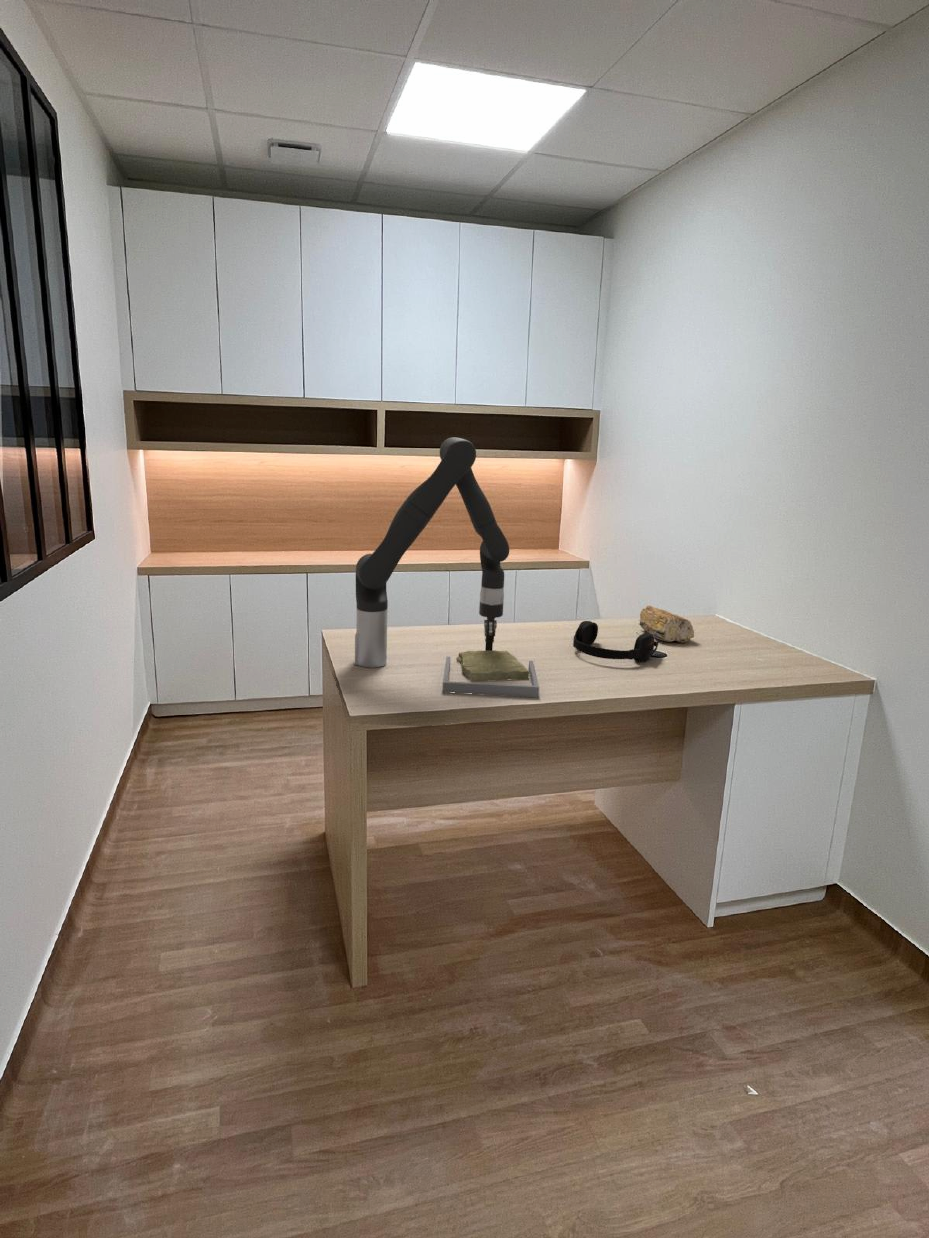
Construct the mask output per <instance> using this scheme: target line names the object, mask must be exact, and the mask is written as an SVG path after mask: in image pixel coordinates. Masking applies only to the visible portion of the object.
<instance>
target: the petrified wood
mask: <svg viewBox="0 0 929 1238" xmlns="http://www.w3.org/2000/svg"><path fill="white" fill-rule="evenodd" d="M639 616H640V618H639V626H640V628H641V629H642V630H643V631H646V633H648V634H649V633H650V634H653V637H654V639H657V640H660V641H663V642H666V643H667V642H673V641H675V642H678V643H681V644H684V643H685V642H686V643H687V642H689V641H690V640H691V639H693V638H694V637H695V630H694V627H693V625H692V622H691V620H689V619H687V618H684V617H682V616H679V615H678V614H673V613H672V612H670V611H667V610H664V609H661V608H658V607H654V606H651V605H647V606H646V607H645V608H642V609H641V611H640V613H639Z"/></svg>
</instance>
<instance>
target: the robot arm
mask: <svg viewBox="0 0 929 1238" xmlns="http://www.w3.org/2000/svg"><path fill="white" fill-rule="evenodd" d="M439 457H440V462H439V464H438V465H437V467H436V469H435V470H434V471H433V472H432V473H431V474H430V476H429V477H427V479H426V480H425V481H423V482H422V483H421V484H420V485H418V486H417V487H415V489H414V490H413V491H412V492H411V493H410V494H409V495H408V496H407V497H406V499H405V500H404V501H403V503H402V504H401V506H400V507H399V509H398V510H397V511H396V513H395V515H394V516H393V519H392V521H391V523H390V526H389V528H388V530H387V532H386V534H385V536H384V538H383V539H382V541H381V542H380V544H379V545H378V546H377V548H376V549H375V550H374V551H373V552H372V553H366V554H364V555H362V556H361V557H360V558H359V559H358V561H357V562H356V565H355V601H356V624H355V625H356V626H355V627H356V632H355V634H354V665H355V666H360V667H364V668H379V667H383V666H385V665H387V661H388V660H387V659H388V655H387V654H388V653H387V651H388V612H389V611H388V605H389V603H388V593H387V583H388V581H389V579H390V578H391V576H392V574H393V573H394V570H395V569H396V567H397V566H398V564H399V563H400V561H401V560H402V557H403V556H404V554H405V553H406V552H407V550H408V549H409V548H410V547H411V545H413V544H414V542H415V541H416V540H417V538H418V537H419V536H420V534H422V532H423V531H424V529H425V528H426V526H427V525H428V524H429V523H430V521H431V519H433V517H434V516H435V514H436V512H437V511H438V510H439V508H440V507H441V505H442V504H443V503H444V501H445V499H446V498H447V497H448V495H449V493H450V492H452V490H453V489H454V487H455V486H456V488H457V490H458V493H459V494H460V496H461V499H462V500H463V501H462V502H463V504H464V506H465V509H466V511H467V512H466V513H467V514H468V516H469V519H470V522H471V523H472V527H473V529H474V531H475V533H476V534H478V536H480V538H481V540H482V541H481V544H480V546H479V560H480V566H481V571H482V572H481V583H480V585H481V587H480V593H479V608H478V609H479V610H478V611H479V612H478V614H479V616H481V617H483V618H486V619H484V620H483V627H484V630H483V631H484V636H485V638H484V641H485V646H484V647H485V650H484V651H487V650H488V651H492V650H493V646H494V643H495V637H496V632H497V626H498V625H497V624H498V623H497V619H496V618H501V617H503V615H504V603H505V590H504V589H505V571H504V569H503V568H502V566H501V563H502V562H504V561H505V560H506V559H507V558H508V557H509V555H510V545H509V542H508V540H507V538H506V536H505V534H504V533H503V531H502V529H501V527H500V526H499V525H498V523H497V519H496V518H495V514H494V512H493V509H492V506H491V504H490V502H489V500H488V498H487V497H486V495H485V494H484V491H483V490H482V488H481V487H480V484H479V482H478V481H477V479H476V477H475V474H474V471H473V470H472V467H473V465H474V464H475V462H476V459H477V450H476V447H475V445H474V444H473V443H472V442H471V441H469V440H468V439H465V438H462V437H461V438H460V437H456V436H455V437H453V436H452V437H448V438H446V439H445V440H444V441H443V442H442V443H441V445H440V448H439Z"/></svg>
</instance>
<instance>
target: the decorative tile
mask: <svg viewBox="0 0 929 1238" xmlns="http://www.w3.org/2000/svg"><path fill="white" fill-rule="evenodd" d="M455 659H456V662H457V663H458V662H459V663H460V664H459V663H458V664H459V665H460V666H461V667H462V669H461V672H462V671H463V672H462V674H463V675H464V674H465V675H466V676H467V677H466V678H467V679H468V678H469V680H470V681H469V682H489V681H488V680H495V681H509V680H508V679H516V680H528V679H529V678H530V675H529V669H528V668H527V667H526V666H525V665H524V664H523V663H522V662H521V661H520V660H518V659H517V658H516V657H515V656H514V655H513V654H511V653H510V651H508V650H496V649H495V650H493V649H492V651H488V650H487V651H485V650H476V651H474V650H466V651H462V652H459V654H458V656H456V658H455ZM461 667H460V668H461ZM465 675H464V676H465Z"/></svg>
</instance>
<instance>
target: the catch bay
mask: <svg viewBox="0 0 929 1238" xmlns="http://www.w3.org/2000/svg"><path fill="white" fill-rule="evenodd" d="M450 668H451V656H446V659H445V666H444V673H443V681H442V693H443V692H455V693H454V694H457V693H472V694H471V695H476V694H484V695H483V696H496V695H505V696H504V697H516V698H517V696H518V697H520V698H521V697H522V698H539V693H540V685H539V682H538V676H537V672H536V667H535V663H534V660H528V671H529V674H530V675H529V681H530V684H532V685H529V684H527V685H526V684H512V683H511V684H508V683H490V682H489V683H488V682H473V681H468V682H467V681H452V680H451V681H450V680H449V678H450V670H451V669H450Z"/></svg>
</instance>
